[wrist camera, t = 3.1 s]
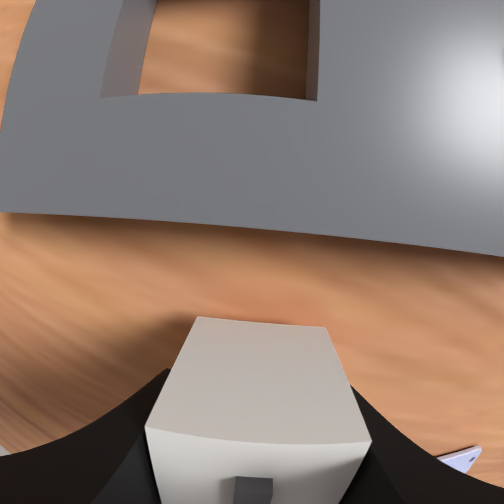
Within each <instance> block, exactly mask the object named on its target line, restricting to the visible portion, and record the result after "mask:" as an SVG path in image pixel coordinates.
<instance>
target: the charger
mask: <svg viewBox="0 0 504 504" xmlns="http://www.w3.org/2000/svg"><path fill="white" fill-rule="evenodd" d="M145 431H146V437H147V442H148V447H149V452H150V457H151V461H152V466H153V470H154V475H155V479H156V483H157V487H158V491H159V494H160V498H161V502H162V504H338V503H339V502H340V500H341V499H342V497H343V495H344V493H345V492H346V490H347V488H348V487H349V485H350V483H351V481H352V479H353V478H354V476H355V474H356V472H357V470H358V468H359V466H360V464H361V463H362V461H363V459H364V457H365V455H366V453H367V451H368V449H369V446H370V444H371V442H372V440H371V437H370V435H369V432H368V429H367V427H366V424H365V422H364V419H363V417H362V414H361V412H360V409H359V407H358V404H357V402H356V399H355V397H354V394H353V392H352V389H351V387H350V384H349V382H348V379H347V377H346V374H345V372H344V370H343V367H342V365H341V362H340V360H339V358H338V355H337V353H336V350H335V348H334V346H333V343H332V341H331V339H330V336H329V334H328V332H327V329H326V327H317V326H300V325H285V324H272V323H260V322H249V321H238V320H228V319H219V318H210V317H201V316H197V318H196V320H195V322H194V324H193V326H192V328H191V330H190V332H189V334H188V336H187V338H186V340H185V343H184V345H183V347H182V349H181V351H180V353H179V355H178V357H177V359H176V361H175V363H174V365H173V367H172V369H171V371H170V374H169V376H168V378H167V380H166V382H165V384H164V386H163V388H162V390H161V392H160V395H159V397H158V399H157V401H156V403H155V405H154V407H153V409H152V411H151V414H150V416H149V418H148V420H147V422H146V424H145Z"/></svg>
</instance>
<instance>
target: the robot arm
mask: <svg viewBox="0 0 504 504" xmlns="http://www.w3.org/2000/svg"><path fill="white" fill-rule="evenodd" d="M170 371H171V369H167V368H166V369H165V370H163V371H162V372H161V373H160V374H158V375H157V376H156V377H155V378H154V379H152V380H151V381H150V382H149V383H147V384H146V385H145V386H144V387H142V388H141V389H140V390H139V391H137V392H136V393H135V394H134V395H132V396H131V397H130V398H128V399H127V400H125V401H124V402H123V403H121V404H120V405H119V406H117V407H116V408H114V409H113V410H111V411H110V412H108V413H107V414H105V415H104V416H102V417H100V418H99V419H97V420H96V421H94V422H92V423H91V424H89V425H87V426H85V427H84V428H82V429H80V430H78V431H76V432H74V433H71V434H69V435H67V436H65V437H63V438H60V439H58V440H55V441H53V442H50V443H47V444H44V445H41V446H39V447H36V448H33V449H30V450H26V451H23V452H19V453H14V454H10V455H5V456H0V504H162V502H161V498H160V494H159V491H158V487H157V483H156V479H155V475H154V470H153V466H152V461H151V457H150V452H149V447H148V442H147V437H146V431H145V424H146V422H147V420H148V418H149V416H150V414H151V411H152V409H153V407H154V405H155V403H156V401H157V399H158V397H159V395H160V392H161V390H162V388H163V386H164V384H165V382H166V380H167V378H168V376H169V374H170ZM350 387H351V389H352V392H353V394H354V397H355V399H356V402H357V404H358V407H359V409H360V412H361V414H362V417H363V419H364V422H365V424H366V427H367V429H368V432H369V435H370V437H371V440H372V442H371V444H370V446H369V449H368V451H367V453H366V455H365V457H364V459H363V461H362V463H361V464H360V466H359V468H358V470H357V472H356V474H355V476H354V478H353V479H352V481H351V483H350V485H349V487H348V488H347V490H346V492H345V493H344V495H343V497H342V499H341V500H340V502H339V503H338V504H504V488H502V487H498V486H495V485H492V484H489V483H486V482H483V481H481V480H478V479H476V478H473V477H471V476H469V475H467V474H465V473H466V472H467V471H468V469H469V468H470V467H471V465H472V464H473V463H474V461H475V460H476V458H477V457H478V456H479V454H480V453H481V451H482V448H481V447H480V446H475V447H472V448H468V449H465V450H462V451H459V452H455V453H452V454H448V455H444V456H441V457H437V458H436V457H434V456H432V455H431V454H429V453H428V452H426V451H425V450H423V449H422V448H420V447H419V446H418V445H416V444H415V443H414V442H412V441H411V440H410V439H409V438H407V437H406V436H405V435H404V434H402V433H401V432H400V431H399V430H398V429H396V428H395V427H394V426H393V425H392V424H391V423H390V422H388V421H387V420H386V419H385V418H384V417H383V416H382V415H381V414H380V413H379V412H378V411H377V410H376V409H374V408H373V407H372V406H371V405H370V404H369V403H368V402H367V401H366V400H365V399H364V398H363V397H362V396H361V395H360V394H359V393H358V392H357V391H356V390H355V389H354V388H353V387H352V386H351V385H350Z"/></svg>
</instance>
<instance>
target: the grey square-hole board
mask: <svg viewBox="0 0 504 504" xmlns="http://www.w3.org/2000/svg"><path fill="white" fill-rule="evenodd" d="M157 1H158V0H36V2H35V5H34V7H33V9H32V12H31V14H30V17H29V20H28V22H27V25H26V28H25V31H24V33H23V36H22V39H21V42H20V46H19V49H18V52H17V55H16V59H15V62H14V66H13V70H12V74H11V78H10V82H9V86H8V91H7V96H6V101H5V106H4V112H3V118H2V124H1V131H0V212H9V213H35V214H57V215H76V216H95V217H112V218H127V219H143V220H157V221H171V222H185V223H198V224H210V225H222V226H234V227H246V228H257V229H268V230H279V231H290V232H300V233H310V234H320V235H330V236H339V237H349V238H358V239H367V240H376V241H385V242H393V243H402V244H410V245H418V246H427V247H435V248H442V249H450V250H458V251H465V252H473V253H480V254H487V255H494V256H501V257H504V0H309V28H308V53H307V73H306V91H305V100H302V99H294V98H285V97H275V96H264V95H250V94H232V93H159V94H141V95H137V94H138V88H139V82H140V76H141V71H142V65H143V60H144V55H145V50H146V45H147V41H148V36H149V32H150V28H151V24H152V20H153V16H154V12H155V8H156V4H157Z"/></svg>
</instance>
